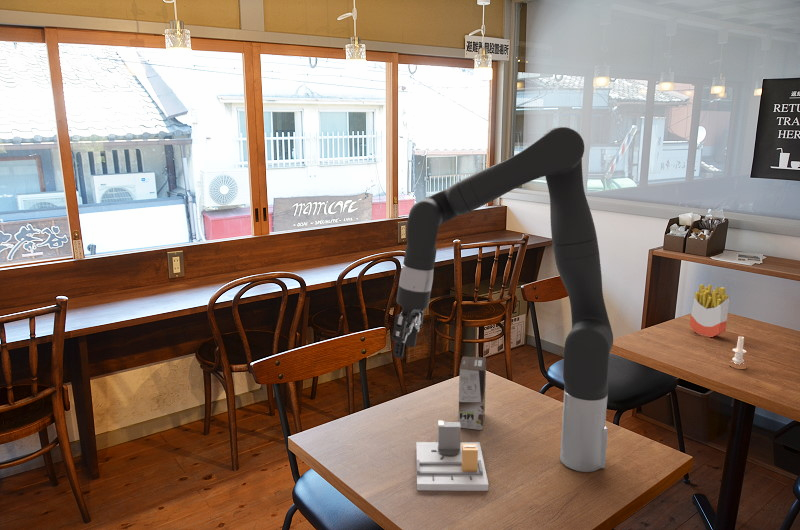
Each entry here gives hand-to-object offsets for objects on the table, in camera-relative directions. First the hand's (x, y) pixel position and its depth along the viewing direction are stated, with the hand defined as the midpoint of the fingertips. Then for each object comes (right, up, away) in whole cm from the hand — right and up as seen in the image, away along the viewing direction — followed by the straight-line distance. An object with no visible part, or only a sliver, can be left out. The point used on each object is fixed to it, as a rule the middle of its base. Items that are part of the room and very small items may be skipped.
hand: (404, 351), depth 141 cm
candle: (+105, -12, +48) cm, 117 cm away
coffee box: (+18, -20, +15) cm, 31 cm away
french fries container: (+110, -5, +77) cm, 134 cm away
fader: (+14, -25, -9) cm, 30 cm away
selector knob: (+10, -23, -2) cm, 25 cm away
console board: (+10, -25, -6) cm, 28 cm away
